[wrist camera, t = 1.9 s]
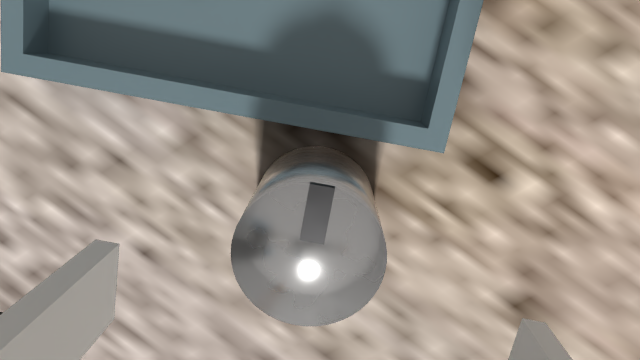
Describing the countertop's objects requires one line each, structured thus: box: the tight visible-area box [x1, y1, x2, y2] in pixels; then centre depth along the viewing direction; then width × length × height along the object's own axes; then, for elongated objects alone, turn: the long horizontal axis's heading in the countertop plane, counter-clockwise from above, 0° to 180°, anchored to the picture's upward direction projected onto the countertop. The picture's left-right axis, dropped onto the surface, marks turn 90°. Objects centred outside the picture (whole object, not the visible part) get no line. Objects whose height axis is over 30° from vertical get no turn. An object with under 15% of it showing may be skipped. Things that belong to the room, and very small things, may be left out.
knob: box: [231, 146, 387, 326], centre depth 23 cm, size 6×6×7 cm
